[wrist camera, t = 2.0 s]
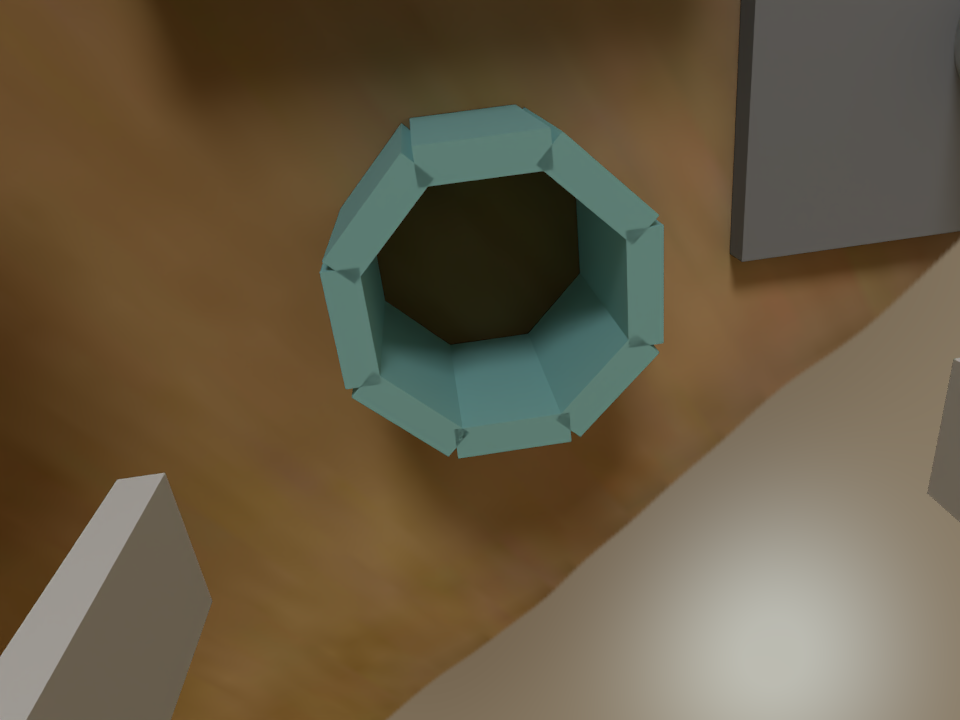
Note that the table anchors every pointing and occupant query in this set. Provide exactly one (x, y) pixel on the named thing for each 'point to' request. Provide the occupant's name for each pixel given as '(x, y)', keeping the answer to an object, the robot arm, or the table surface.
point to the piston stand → (845, 124)
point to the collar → (508, 360)
